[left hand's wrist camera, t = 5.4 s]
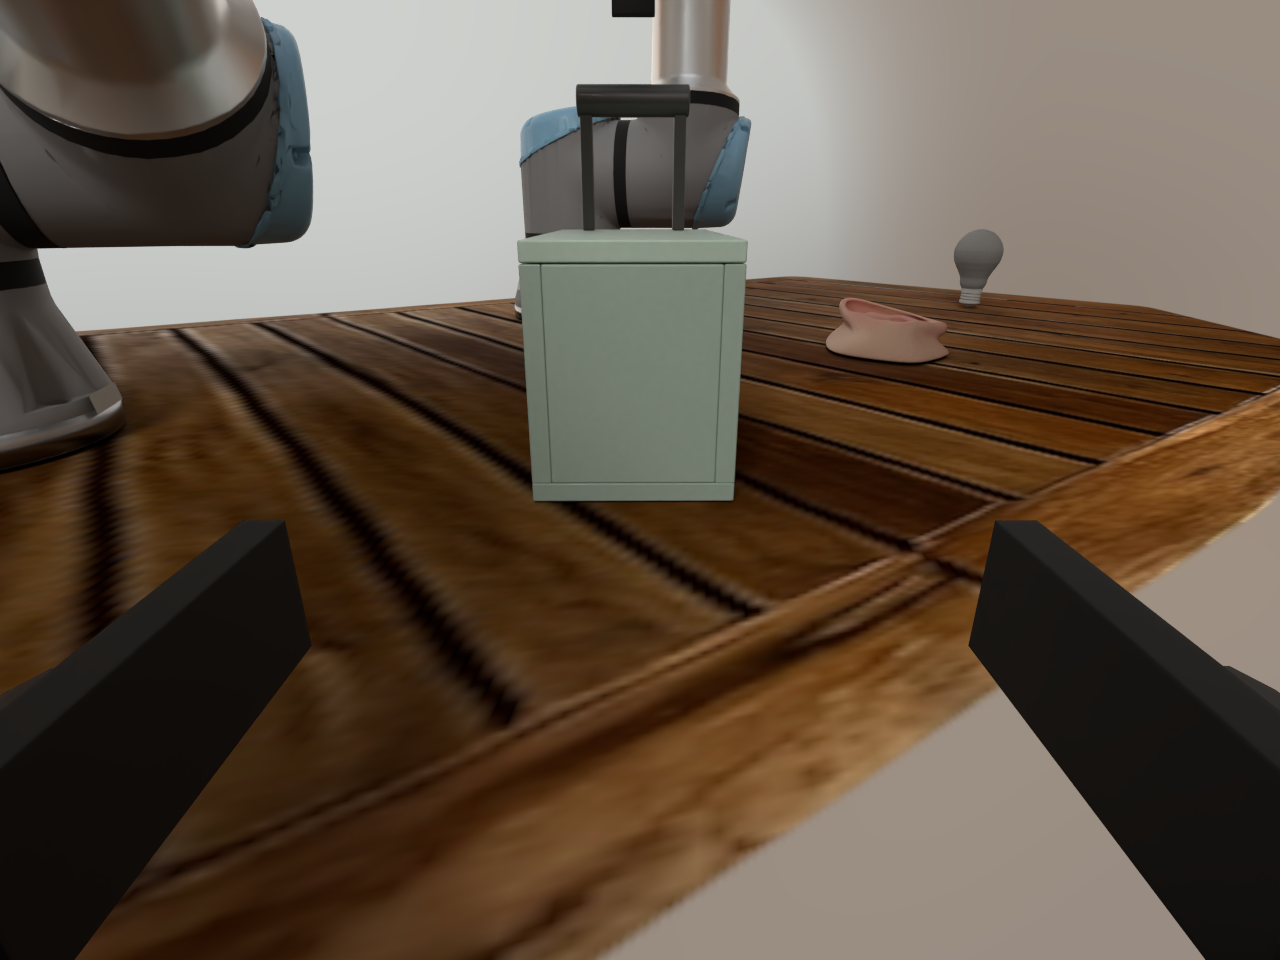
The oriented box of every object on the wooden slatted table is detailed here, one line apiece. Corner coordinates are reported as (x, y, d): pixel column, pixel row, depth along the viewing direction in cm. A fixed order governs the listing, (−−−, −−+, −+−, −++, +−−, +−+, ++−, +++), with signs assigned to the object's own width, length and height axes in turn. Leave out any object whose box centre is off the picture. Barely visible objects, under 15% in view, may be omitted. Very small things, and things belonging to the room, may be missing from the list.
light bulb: (953, 308, 92) (966, 229, 88) (940, 303, 97) (952, 228, 94) (999, 309, 91) (1014, 230, 87) (984, 303, 97) (997, 228, 93)
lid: (562, 244, 44) (555, 91, 41) (705, 243, 44) (710, 91, 41) (518, 263, 27) (501, 10, 24) (746, 262, 27) (760, 10, 24)
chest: (567, 405, 47) (560, 245, 43) (701, 405, 47) (706, 245, 43) (533, 501, 31) (518, 264, 27) (733, 501, 31) (746, 264, 27)
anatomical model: (956, 319, 56) (815, 311, 60) (948, 366, 57) (811, 356, 62) (955, 301, 67) (836, 295, 71) (948, 341, 69) (833, 333, 73)
